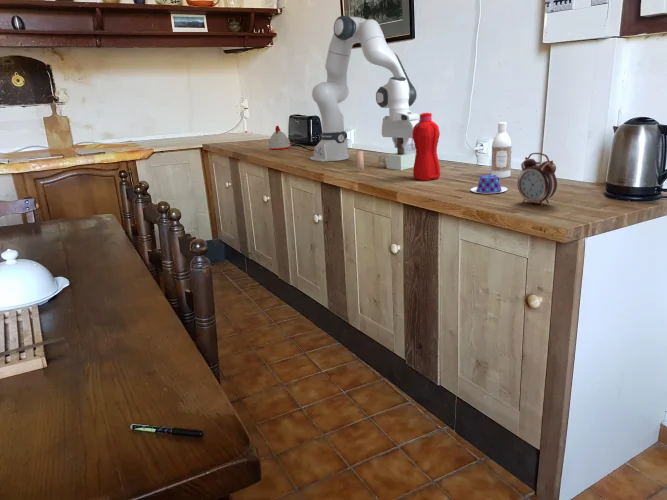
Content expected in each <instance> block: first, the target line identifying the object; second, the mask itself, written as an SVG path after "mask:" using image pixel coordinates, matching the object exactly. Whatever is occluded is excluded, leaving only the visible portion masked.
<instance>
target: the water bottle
mask: <svg viewBox="0 0 667 500" xmlns="http://www.w3.org/2000/svg"><path fill="white" fill-rule="evenodd" d="M432 117H433V115H432V113H430V112H423V113H420V114H419V119H418V121H419V122H418V123H417V124H416V125H415V126H414V128H413V133H412V134H413V137H412V138H411V143H413V144H415V149H416V157H415V162H414V167H412V168H413V171H412V172H413V174H412V175H413V177H414V179H415V180H420V181H421V182H423V181H431V180H437V179H439V178H440V176H441V167H440V163H439V157H438V151H437V150H438V143H439V139H440V135H441V134H440V127H439V125H438V124H437V122H434V121H433V120H432ZM412 149H413V147H412ZM413 150H414V149H413Z"/></svg>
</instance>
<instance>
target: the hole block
mask: <svg viewBox="0 0 667 500" xmlns="http://www.w3.org/2000/svg"><path fill="white" fill-rule="evenodd" d="M385 155H386V156H385V165H386V169H388V170H389V169H390V170H397V171H403V170H407V169H410V168H414V162H415V153H405V152H404V154H403V155H398V154H397V152H395V153H388V154H385Z"/></svg>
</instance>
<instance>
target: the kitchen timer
mask: <svg viewBox="0 0 667 500" xmlns="http://www.w3.org/2000/svg"><path fill="white" fill-rule="evenodd" d="M274 129H275V130H274V132H273V134H272V135H271V136H270V139H268V150H269V149H270V150H282V151H284V150H283V149H288V148H292V147H291V143H290V139H289V137H288V136H287V135H286V133H284V132H283V131H281V128H280V126H279V125H276V126H275V128H274ZM288 150H289V149H288Z"/></svg>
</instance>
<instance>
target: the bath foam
mask: <svg viewBox="0 0 667 500" xmlns="http://www.w3.org/2000/svg"><path fill="white" fill-rule="evenodd" d="M512 147H513V146H512V140H511V137H510V136H509V134H508V133H507V121H500V122H498V123H497V133H496V135H495V137H494V138H493V140H492V144H491V167H490V168H491V170H490V171H491V173H490V175H496V176H498V177H499V179H503V178H504V179H505V178H510V176H511V169H512V149H513V148H512Z"/></svg>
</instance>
